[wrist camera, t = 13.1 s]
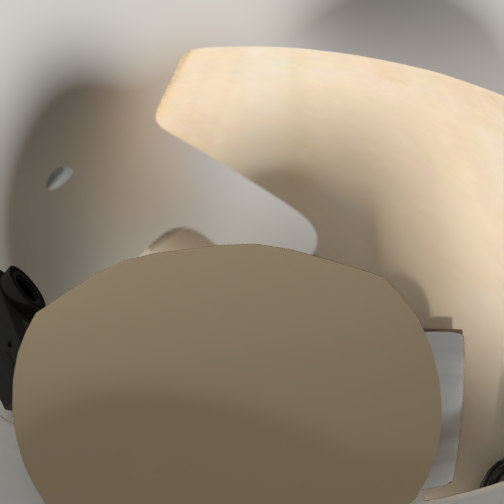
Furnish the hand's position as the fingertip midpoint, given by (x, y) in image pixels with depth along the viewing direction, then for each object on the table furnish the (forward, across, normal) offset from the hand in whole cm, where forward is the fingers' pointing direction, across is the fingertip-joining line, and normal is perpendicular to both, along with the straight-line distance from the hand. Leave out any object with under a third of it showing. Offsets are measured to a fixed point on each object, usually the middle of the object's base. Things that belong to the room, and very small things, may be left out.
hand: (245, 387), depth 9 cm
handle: (+6, 0, -7) cm, 9 cm away
